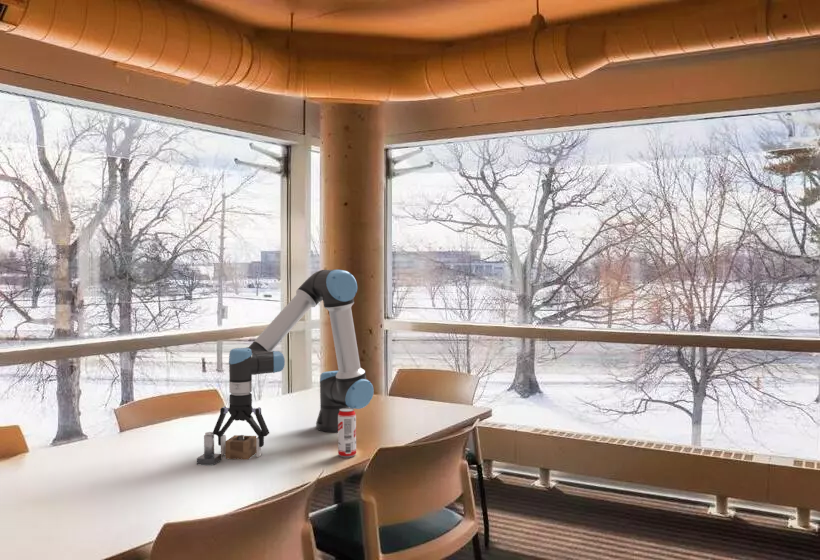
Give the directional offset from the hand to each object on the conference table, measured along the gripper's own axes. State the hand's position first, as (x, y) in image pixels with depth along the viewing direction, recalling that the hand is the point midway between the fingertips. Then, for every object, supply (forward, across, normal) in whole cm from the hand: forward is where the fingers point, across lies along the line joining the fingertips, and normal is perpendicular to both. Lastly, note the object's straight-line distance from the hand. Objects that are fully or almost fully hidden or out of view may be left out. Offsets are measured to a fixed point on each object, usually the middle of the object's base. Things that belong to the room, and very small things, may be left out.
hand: (241, 455), depth 226 cm
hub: (0, -8, -8) cm, 11 cm away
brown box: (0, 0, 0) cm, 0 cm away
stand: (0, 0, 0) cm, 0 cm away
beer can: (0, +36, +4) cm, 37 cm away
